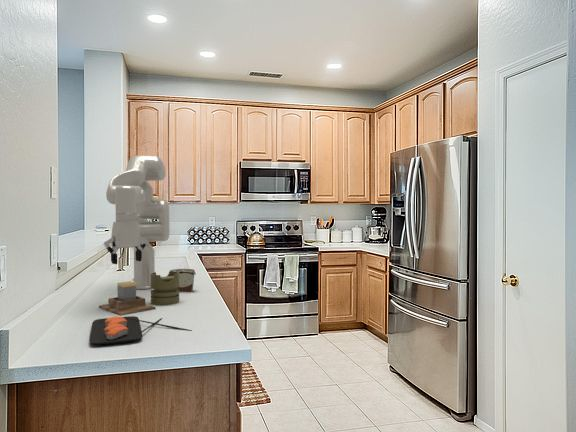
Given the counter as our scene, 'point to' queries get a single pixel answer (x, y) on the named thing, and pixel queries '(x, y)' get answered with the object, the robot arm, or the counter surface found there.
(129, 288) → the gold and gray block
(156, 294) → the piston
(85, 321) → the counter surface
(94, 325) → the sushi plate
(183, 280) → the food container
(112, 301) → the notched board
